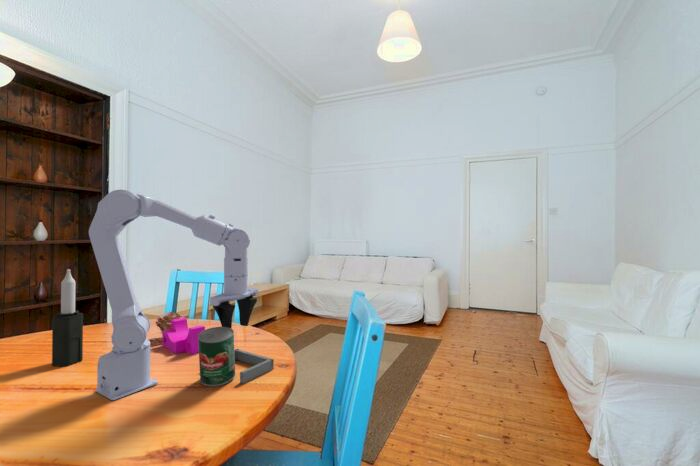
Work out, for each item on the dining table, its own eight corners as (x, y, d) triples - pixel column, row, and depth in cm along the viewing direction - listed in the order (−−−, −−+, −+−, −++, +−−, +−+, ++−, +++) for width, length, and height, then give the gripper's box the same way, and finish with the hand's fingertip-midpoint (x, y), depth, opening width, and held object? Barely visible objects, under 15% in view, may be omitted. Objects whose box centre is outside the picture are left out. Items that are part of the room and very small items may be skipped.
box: (242, 383, 77) (243, 373, 77) (205, 370, 84) (205, 360, 84) (273, 368, 86) (273, 359, 86) (236, 357, 93) (237, 348, 93)
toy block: (162, 345, 103) (162, 321, 103) (183, 340, 107) (183, 317, 107) (182, 357, 93) (183, 331, 93) (204, 351, 98) (205, 326, 98)
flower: (156, 334, 113) (157, 311, 113) (186, 331, 117) (187, 309, 117) (153, 343, 104) (153, 318, 104) (185, 339, 108) (186, 315, 108)
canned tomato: (232, 364, 85) (231, 324, 83) (238, 381, 78) (236, 337, 76) (198, 372, 81) (196, 330, 79) (201, 390, 74) (199, 344, 72)
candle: (65, 367, 85) (66, 270, 85) (49, 365, 86) (50, 269, 86) (84, 359, 90) (85, 268, 90) (69, 358, 91) (70, 267, 91)
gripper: (225, 280, 77) (224, 338, 77) (266, 273, 90) (266, 323, 90) (203, 278, 80) (203, 334, 80) (247, 271, 93) (247, 320, 93)
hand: (235, 328), depth 85 cm, fingers open, 5 cm apart
